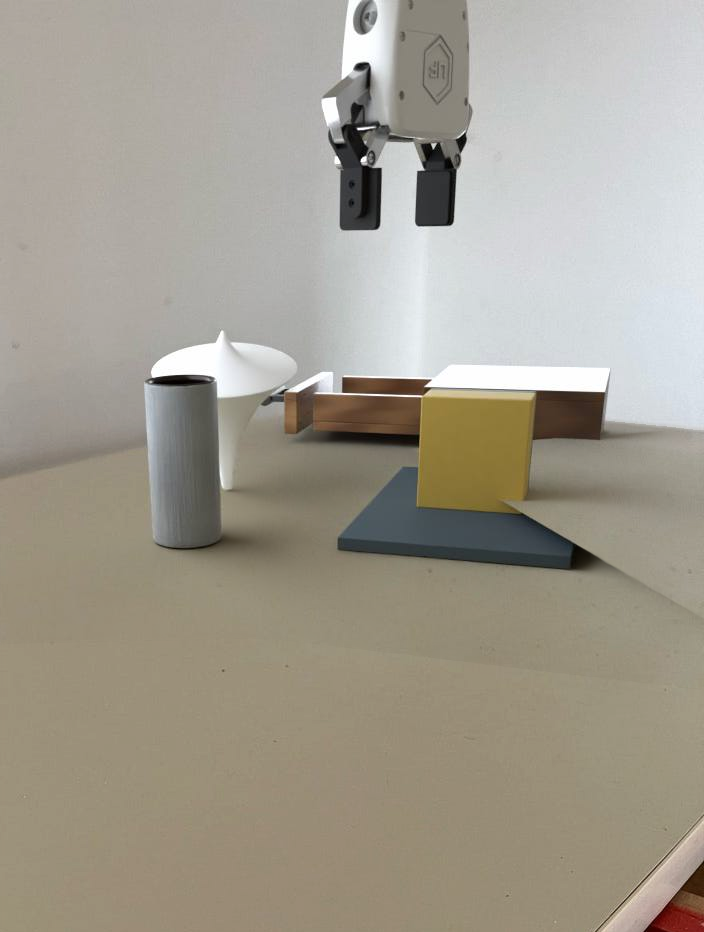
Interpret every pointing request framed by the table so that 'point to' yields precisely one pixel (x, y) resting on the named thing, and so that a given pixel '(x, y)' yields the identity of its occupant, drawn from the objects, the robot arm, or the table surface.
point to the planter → (183, 459)
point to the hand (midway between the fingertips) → (398, 228)
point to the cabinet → (543, 394)
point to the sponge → (475, 449)
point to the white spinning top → (232, 386)
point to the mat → (451, 531)
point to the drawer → (353, 404)
